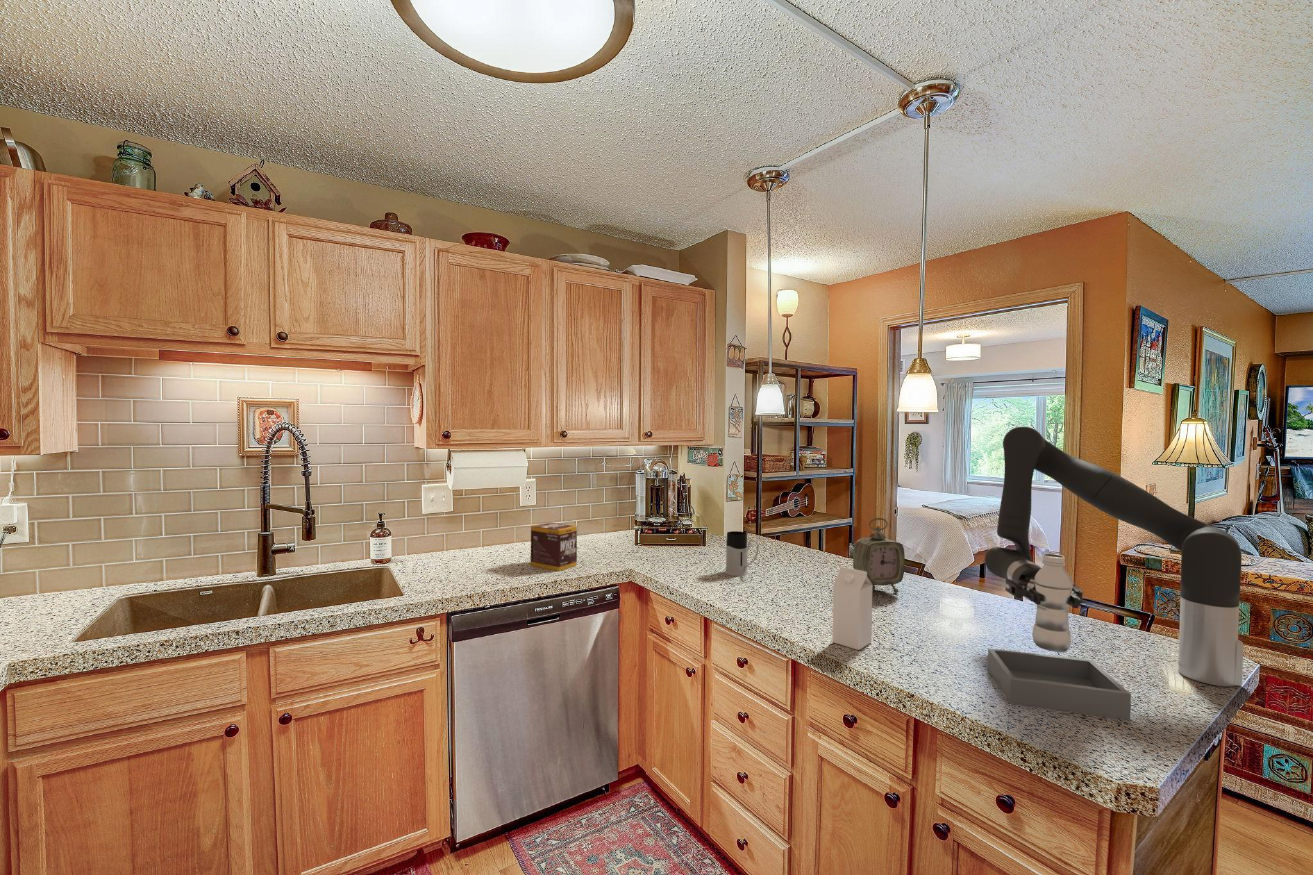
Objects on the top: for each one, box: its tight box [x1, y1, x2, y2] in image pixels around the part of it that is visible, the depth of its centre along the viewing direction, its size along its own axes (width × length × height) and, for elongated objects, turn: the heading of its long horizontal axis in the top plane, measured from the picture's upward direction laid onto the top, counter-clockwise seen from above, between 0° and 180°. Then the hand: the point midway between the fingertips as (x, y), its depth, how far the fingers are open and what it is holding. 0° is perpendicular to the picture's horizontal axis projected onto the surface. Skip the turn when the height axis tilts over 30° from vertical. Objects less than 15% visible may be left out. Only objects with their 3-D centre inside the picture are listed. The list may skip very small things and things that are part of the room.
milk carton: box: [832, 566, 873, 651], centre depth 141 cm, size 7×7×19 cm
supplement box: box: [529, 522, 578, 572], centre depth 216 cm, size 10×15×16 cm
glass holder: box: [724, 530, 760, 577], centre depth 205 cm, size 9×14×15 cm, turn 43°
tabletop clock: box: [852, 517, 906, 594], centre depth 185 cm, size 14×9×25 cm, turn 102°
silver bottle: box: [1031, 553, 1074, 653], centre depth 116 cm, size 6×7×20 cm
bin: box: [987, 648, 1132, 721], centre depth 116 cm, size 20×16×5 cm
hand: (1057, 601), depth 114 cm, fingers closed on silver bottle, 6 cm apart
